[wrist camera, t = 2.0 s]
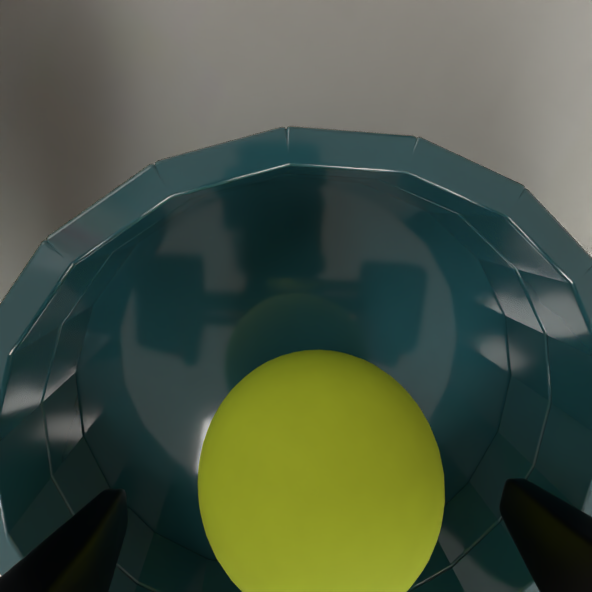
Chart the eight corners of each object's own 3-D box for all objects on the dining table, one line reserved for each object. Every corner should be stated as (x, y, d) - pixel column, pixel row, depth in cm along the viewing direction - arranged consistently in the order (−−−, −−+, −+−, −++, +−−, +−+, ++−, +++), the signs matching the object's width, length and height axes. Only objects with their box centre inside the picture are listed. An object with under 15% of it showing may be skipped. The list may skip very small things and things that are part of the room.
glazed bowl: (472, 557, 15) (547, 683, 11) (89, 576, 14) (17, 731, 10) (561, 174, 11) (725, 159, 7) (35, 137, 10) (-125, 91, 6)
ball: (380, 475, 13) (474, 691, 7) (215, 479, 12) (174, 720, 7) (401, 321, 12) (540, 441, 6) (214, 317, 11) (161, 446, 5)
